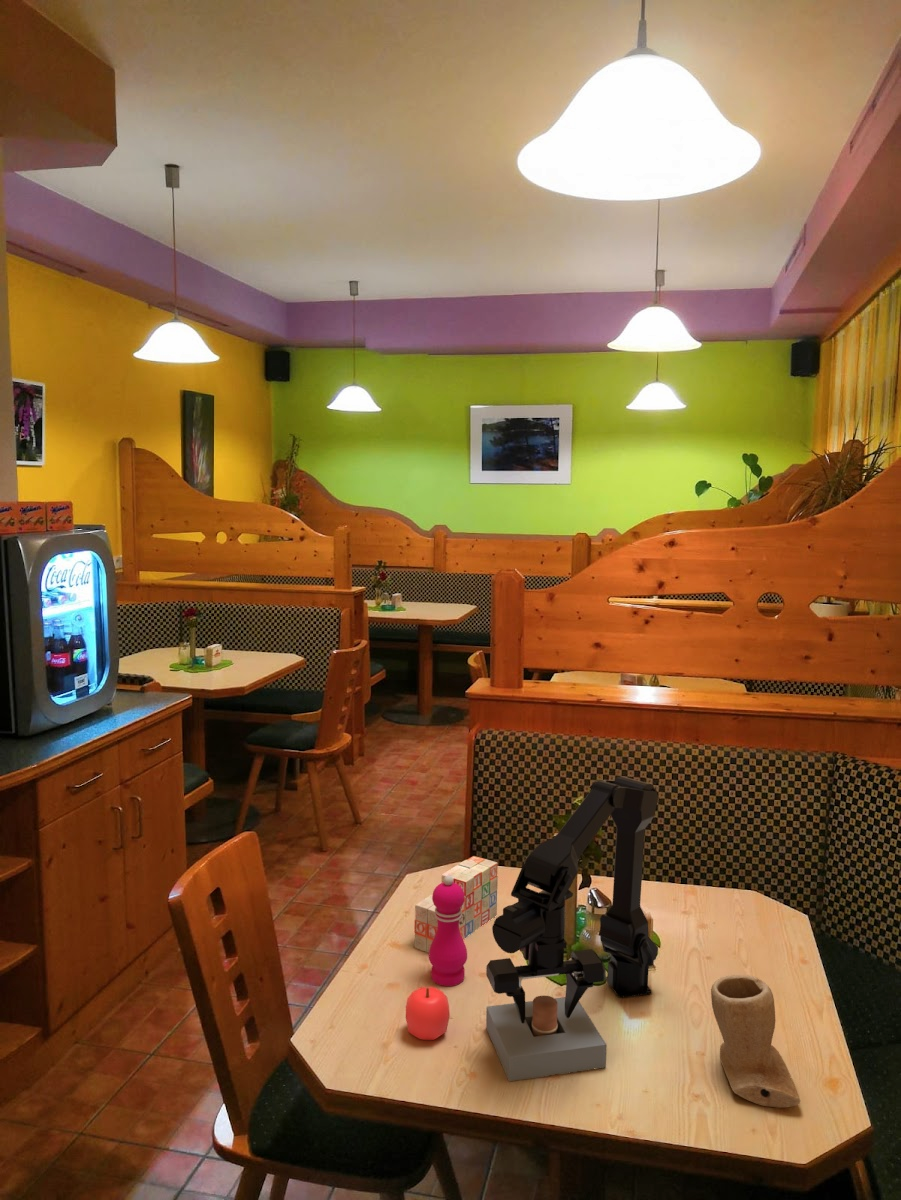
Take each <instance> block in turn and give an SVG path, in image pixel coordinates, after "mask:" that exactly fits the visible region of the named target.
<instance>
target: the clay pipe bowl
mask: <svg viewBox="0 0 901 1200" xmlns="http://www.w3.org/2000/svg"><path fill="white" fill-rule="evenodd" d="M710 995H711V996H710V997H711V1008H712V1012H713V1015H714V1018H715V1020H716V1023H717V1024H716V1025H717V1026H718V1029H719V1031H720V1034H721V1037H722V1040H723V1042H722V1043H721V1045H720V1047H719V1059H720V1062H721V1064H722V1068H723V1070H724V1073H725V1075H726V1078H727V1081H728V1082H729V1086H730V1087H731V1089H732V1091H733V1093H734V1094H736V1095H737V1096H738V1097H741V1098H743V1099H745V1100H747V1101H749V1102H751V1103H754V1104H756V1105H758V1106H759V1105H760V1106H761V1107H762V1106H763V1107H770V1108H789V1107H795V1106H798V1105H799V1104H801V1099H800V1094H799V1092H798V1090H797V1087H796V1085H795V1082H794V1080H793V1079H792V1077H791V1074H790V1071H789V1069H788V1066H787V1065H786V1062H785V1061H784V1059H783V1056H782V1055H781V1054H780V1051H779V1050H778V1049H777V1048H776V1047H775V1046H773V1045H772V1041H773V1037H774V1032H775V1028H776V1021H777V1020H776V1008H775V1006H776V1005H775V997H774V993H773V991H772V989H771V988H770V986H769V985H768V984H767V983H766V982H765V981H763V980H762V979H760V978H759V977H755V976H753V975H752V976H751V975H748V974H731V975H726V976H725V975H724V976H722V977H720V978H718V979H717V980H715V981H714V982H713V984H712V985H711V988H710Z"/></svg>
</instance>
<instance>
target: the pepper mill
mask: <svg viewBox="0 0 901 1200" xmlns="http://www.w3.org/2000/svg"><path fill="white" fill-rule="evenodd" d="M432 894H433V895H432ZM432 894H431V895H432V900H433V903H434V905H435V907H436V908H435V917H436V918H437V922H438V927H437V933H436V935H435V938H434V940H433V942H432V944H431V946H430V950H429V953H428V960H429V963H430V964H431V965H432V966H431V968H430V969H431V970H430V976H431V980H432V981H433V983H435V984H437V985H440V986H445V987H454V986H457V985H460V984H461V983H462V982H463V981H464V979H465V971H466V970H465V966H464V965H465V964H466V962H467V960H468V950H467V946H466V943H465V941H464V940H463V939H462V936H461V934H460V930H459V919H460V918H461V917H462V914H461V912H462V909H461V906H462V905H463V903H464V899H465V897H464V891H463V889H462V888H461V887H460V886H459V885H458V884H456V883H453V878H452V877H451V876H446V877H445V878H444V882H443V883H442V882H441V883H439V884H438V885H437V886H435V888H434V889H433V893H432Z"/></svg>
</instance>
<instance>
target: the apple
mask: <svg viewBox="0 0 901 1200" xmlns="http://www.w3.org/2000/svg"><path fill="white" fill-rule="evenodd" d="M406 999H407V1000H406V1003H405V1022H406V1026H407V1030H408V1033H409V1034H411V1035H412V1036H414V1037H415V1038H417V1039H420V1040H423V1041H434V1040H436V1039H437V1038H439V1037H440V1036H442V1035H443V1034H445V1033H446V1032H447V1031H448V1025H449V1021H450V1004H449V999H448V997H447V995H446V994H445V993H444V992H443V991H442V990H440V989H438V988H436V987H435V986H429V987H428V986H424V987H423V986H422V987H419V988H417V989H416V990H414V991H412V992H411V993H410V994H409V996H408V997H407V998H406Z"/></svg>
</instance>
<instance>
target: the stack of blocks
mask: <svg viewBox="0 0 901 1200" xmlns="http://www.w3.org/2000/svg"><path fill="white" fill-rule="evenodd" d="M446 876H451V877H452V878H453V883H456V884H458V885H459V886H460V887H461V888H462V889H463V891H464V897H465V899H464V903H463V905H462V906H461V909H462V912H461V914H462V917H461V918H460V919H459V930H460V934H461V936H462V939H464V938H465V939H466V938H467V937H469V936H470V935H471V933H472V932H473V933H474V932H475V930H476V929H477V930H478V929H480V928H482V927H483V926H484V924H485V923H486V924H488V923H489V922H490V921H492V920H493V919H495V918H496V917H497V916H496V915H498V903H497V902H498V880H499V879H498V862H496V861H495V860H494V861H493V860H490V859H485V858H482V857H478V856H476V855H473V856H471V857H469V858H468V859H465V860H463V861H462V862H459V863H458V864H456V865H455V866H454V867H452V868H450V869H448V870H447V871H445V872H444V873H442V874H441V883H443V882H444V878H445V877H446ZM432 895H433V893H432V894H430V895H429V896H427V897H426V898H423V900H420V901H419V902H417V903H416V904H415V905H414V907H415V908H414V948H415V949H417V950H421V951H423V952H424V953H425V952H426V953H428V954H429V950H430V946H431V944H432V942H433V940H434V938H435V935H436V933H437V927H438V922H437V918H436V917H435V908H436V907H435V905H434V903H433V900H432ZM495 916H496V917H495ZM494 917H495V918H494ZM492 918H493V919H492ZM491 919H492V920H491ZM489 920H490V921H489ZM488 921H489V922H488ZM486 924H485V925H486ZM482 925H483V926H482ZM481 926H482V927H481ZM479 927H480V928H479ZM477 930H476V931H477ZM473 933H472V934H473ZM469 934H470V935H469ZM468 935H469V936H468ZM465 939H464V940H465Z"/></svg>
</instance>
